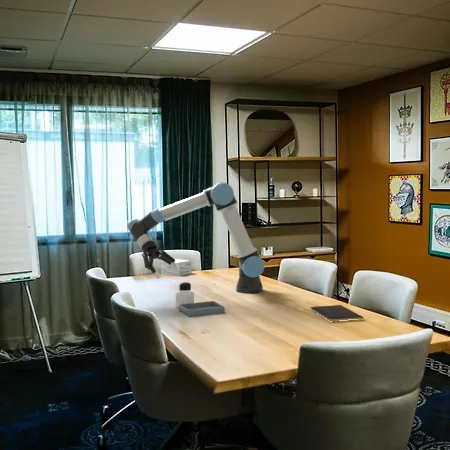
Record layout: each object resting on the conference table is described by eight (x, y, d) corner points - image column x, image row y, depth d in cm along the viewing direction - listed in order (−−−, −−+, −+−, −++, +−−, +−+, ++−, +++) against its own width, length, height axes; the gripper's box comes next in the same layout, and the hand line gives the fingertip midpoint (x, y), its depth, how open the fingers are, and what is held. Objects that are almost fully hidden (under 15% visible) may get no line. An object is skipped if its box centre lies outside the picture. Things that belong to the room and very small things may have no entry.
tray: (213, 306, 260) (213, 300, 259) (224, 312, 247) (224, 306, 246) (179, 310, 253) (179, 304, 252) (188, 316, 240) (188, 310, 240)
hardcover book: (329, 323, 226) (329, 318, 226) (310, 311, 248) (310, 306, 248) (363, 321, 229) (363, 316, 229) (341, 309, 252) (341, 304, 251)
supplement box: (191, 273, 361) (191, 260, 361) (179, 276, 351) (178, 262, 350) (173, 271, 372) (173, 258, 371) (160, 274, 361) (160, 260, 360)
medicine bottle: (194, 305, 262) (194, 281, 261) (188, 308, 256) (188, 284, 255) (181, 304, 265) (181, 281, 264) (175, 307, 258) (175, 283, 257)
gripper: (160, 246, 285) (181, 276, 277) (125, 251, 265) (147, 283, 257) (167, 237, 282) (188, 267, 274) (132, 241, 262) (154, 274, 254)
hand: (168, 275), depth 266 cm, fingers open, 13 cm apart
